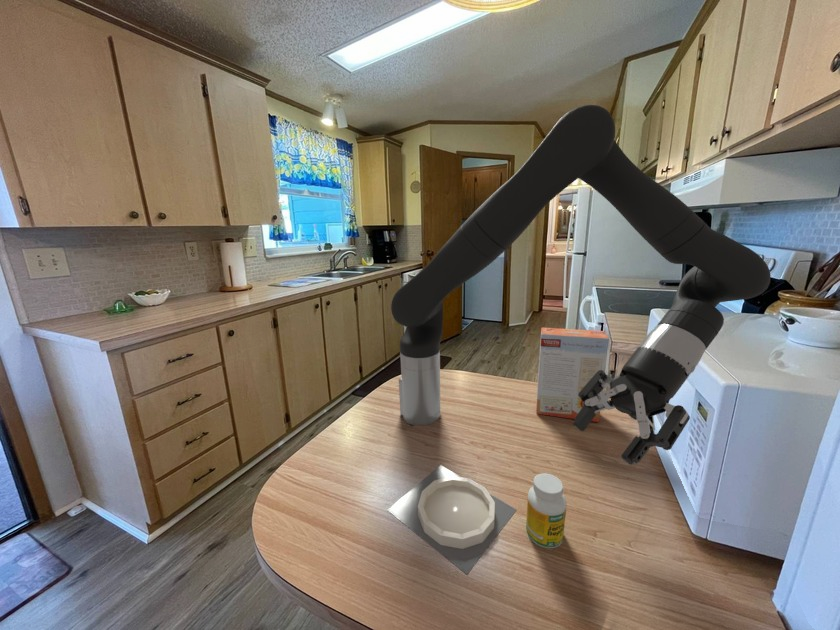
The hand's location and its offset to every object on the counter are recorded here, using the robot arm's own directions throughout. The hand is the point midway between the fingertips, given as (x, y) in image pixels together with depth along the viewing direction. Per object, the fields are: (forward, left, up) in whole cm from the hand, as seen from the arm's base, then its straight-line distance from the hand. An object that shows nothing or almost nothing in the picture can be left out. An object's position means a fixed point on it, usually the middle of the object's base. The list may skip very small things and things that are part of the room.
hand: (600, 443), depth 51 cm
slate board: (-17, -15, -13) cm, 26 cm away
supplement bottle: (-4, -9, -13) cm, 16 cm away
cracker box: (-14, +27, -13) cm, 33 cm away
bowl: (-16, -15, -12) cm, 25 cm away
